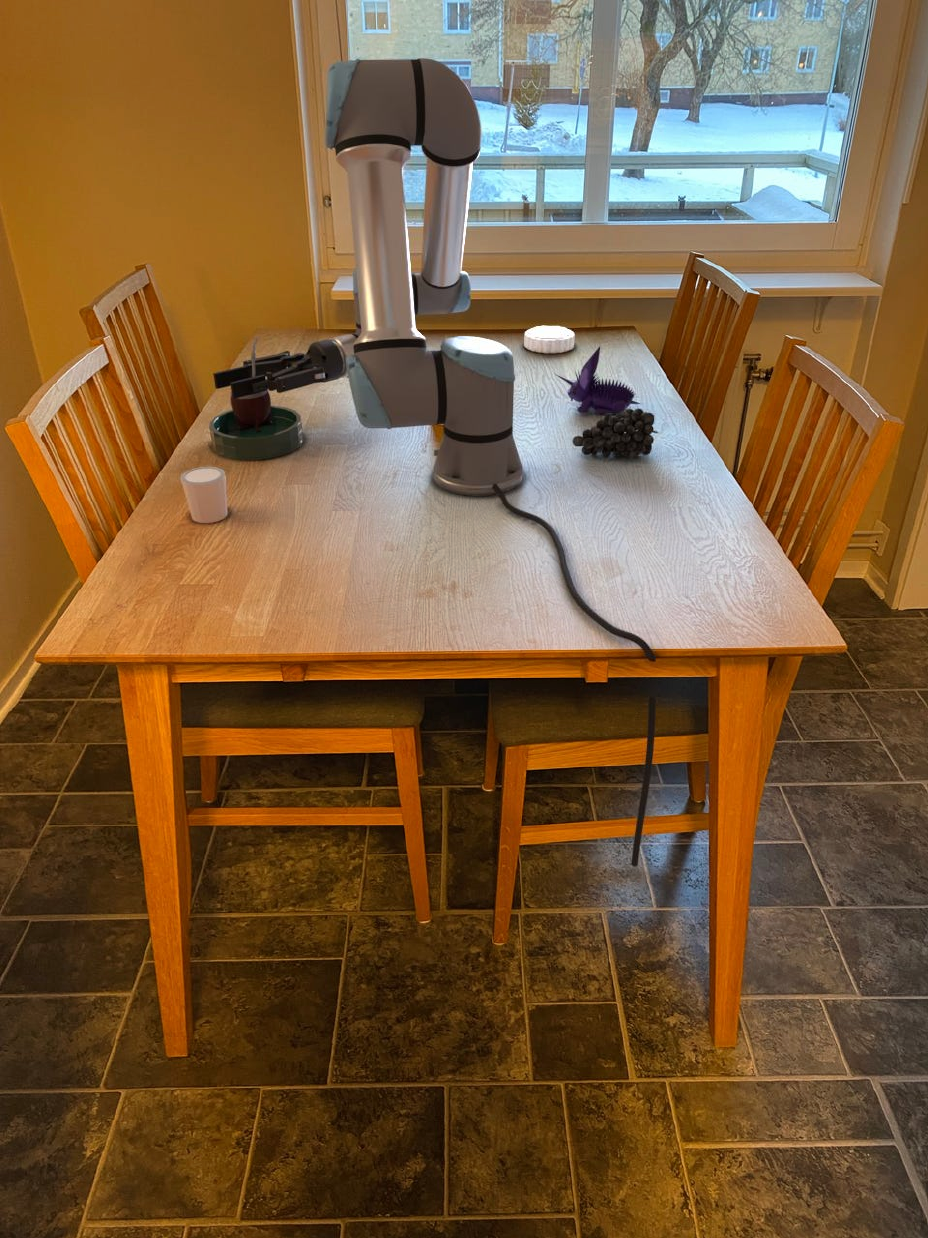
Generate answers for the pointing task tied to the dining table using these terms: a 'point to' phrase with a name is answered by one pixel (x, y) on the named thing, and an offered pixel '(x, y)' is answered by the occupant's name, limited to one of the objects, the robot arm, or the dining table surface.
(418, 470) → the dining table surface
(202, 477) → the white cylinder
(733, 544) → the dining table surface
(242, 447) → the green round tray
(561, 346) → the white lid
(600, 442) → the fruit
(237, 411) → the mate gourd
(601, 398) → the creature
